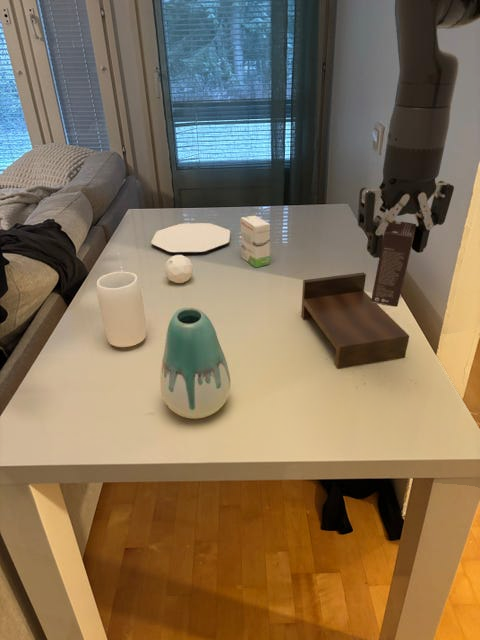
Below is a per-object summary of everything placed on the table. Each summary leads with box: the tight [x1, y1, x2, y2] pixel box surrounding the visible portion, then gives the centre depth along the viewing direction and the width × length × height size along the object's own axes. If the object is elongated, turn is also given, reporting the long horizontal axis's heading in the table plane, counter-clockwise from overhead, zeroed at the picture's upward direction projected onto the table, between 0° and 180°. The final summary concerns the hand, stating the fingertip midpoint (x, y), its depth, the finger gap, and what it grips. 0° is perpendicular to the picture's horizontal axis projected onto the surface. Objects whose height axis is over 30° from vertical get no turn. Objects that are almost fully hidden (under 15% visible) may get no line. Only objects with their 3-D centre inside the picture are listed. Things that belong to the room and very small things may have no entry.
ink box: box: [240, 215, 271, 268], centre depth 127 cm, size 9×5×12 cm, turn 27°
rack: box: [300, 272, 410, 370], centre depth 95 cm, size 14×20×9 cm
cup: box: [96, 271, 147, 348], centre depth 93 cm, size 8×8×14 cm
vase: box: [159, 307, 231, 420], centre depth 75 cm, size 12×12×18 cm
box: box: [370, 220, 417, 308], centre depth 73 cm, size 6×4×12 cm
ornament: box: [164, 254, 194, 284], centre depth 118 cm, size 7×7×8 cm
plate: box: [150, 222, 231, 254], centre depth 144 cm, size 24×24×2 cm
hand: (395, 253), depth 72 cm, fingers closed on box, 6 cm apart
